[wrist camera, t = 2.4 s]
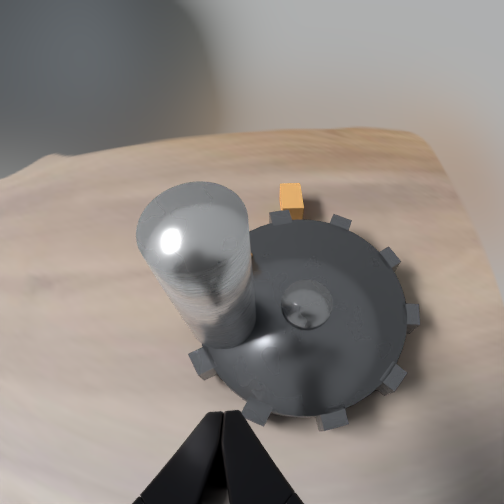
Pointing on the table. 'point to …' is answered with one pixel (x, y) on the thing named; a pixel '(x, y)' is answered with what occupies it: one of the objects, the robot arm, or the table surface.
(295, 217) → the orange rectangular block
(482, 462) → the table surface
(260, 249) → the sprocket
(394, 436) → the table surface
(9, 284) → the table surface
